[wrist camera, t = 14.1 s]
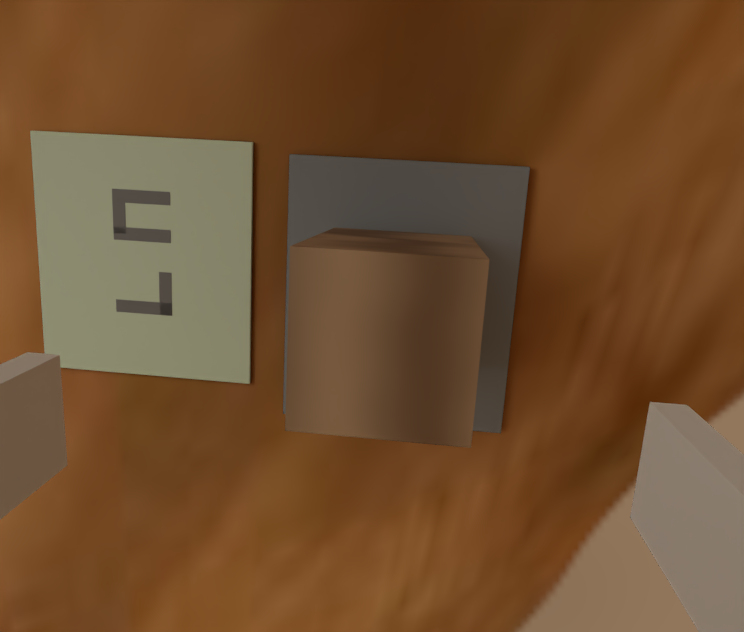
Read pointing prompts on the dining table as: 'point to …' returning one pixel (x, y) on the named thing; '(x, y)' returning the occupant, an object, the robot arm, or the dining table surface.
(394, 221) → the mat
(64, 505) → the dining table surface
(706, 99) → the dining table surface
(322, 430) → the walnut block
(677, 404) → the robot arm
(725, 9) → the dining table surface
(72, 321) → the tile
